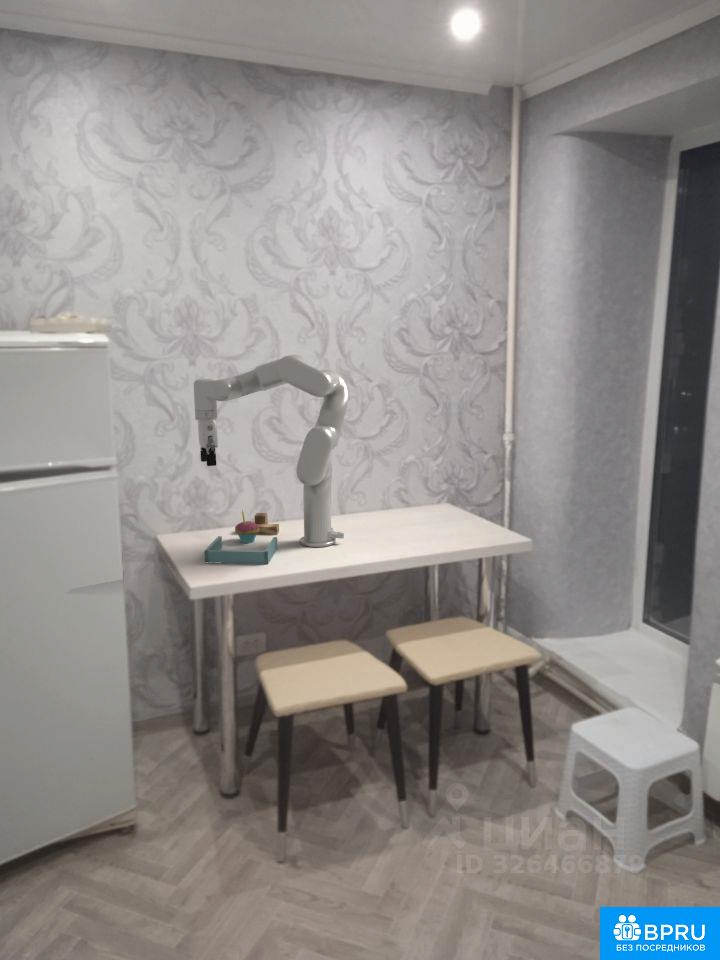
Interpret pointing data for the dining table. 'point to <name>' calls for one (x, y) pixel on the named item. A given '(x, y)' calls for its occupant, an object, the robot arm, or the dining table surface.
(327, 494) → the robot arm
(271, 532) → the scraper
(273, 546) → the tray
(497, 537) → the dining table surface
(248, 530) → the cupcake
